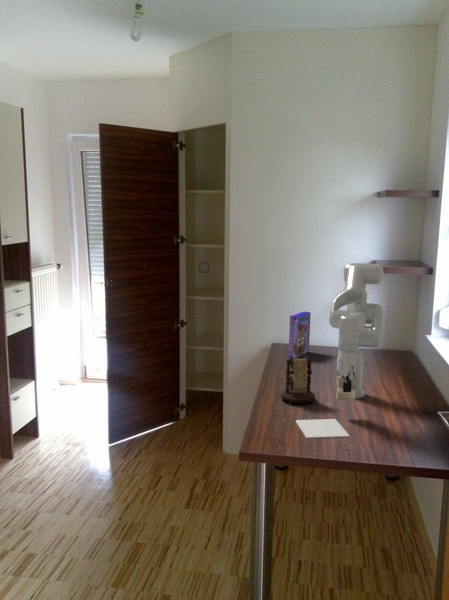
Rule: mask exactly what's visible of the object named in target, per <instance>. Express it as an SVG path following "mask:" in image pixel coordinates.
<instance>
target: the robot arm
mask: <svg viewBox="0 0 449 600" xmlns="http://www.w3.org/2000/svg"><path fill="white" fill-rule="evenodd" d="M383 267H384V266H382V264H380V263H379V264H378V263H360V262H354V263H352V262H351V263H348V264H345V266H344V268H343V279H344V283H345V287H344V291H342V292H341V293H339V294H338V295H337V296H336V297H335V298H334V299H333V301H332V303H331V306H330V310H329V312H330V313H329V318H328V321H329V325H330V327H331V328H333V329H338V346H337V347H338V348H337V350H338V352H337V360H336V370H337V371H338V373H339V374H340V376H344V377H345V378H344V382H343V392H351V386H352V380H354V378H353V376H355V377H356V390H355V399H360V398H363V397H365V395H366V392H365V391H364V390H363V388H362V387H363V373H364V371H363V369H364V355H363V353H362V350H361V349H360V348H365V349H367V348H368V349H378V348H379V347H380V346H381V345H382V339H383V324H384V309H383V307H382V305H380V304H379V303H372V302H371V303H369V302H368V303H367V299H368V292H367V290H366V287H367V285H380V284H381V282H382V281H383V278H384V268H383ZM345 306H346V310H343V309H342V310H341V308H342V307H345ZM367 325H368V326H367ZM347 377H349V378H347Z"/></svg>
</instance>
